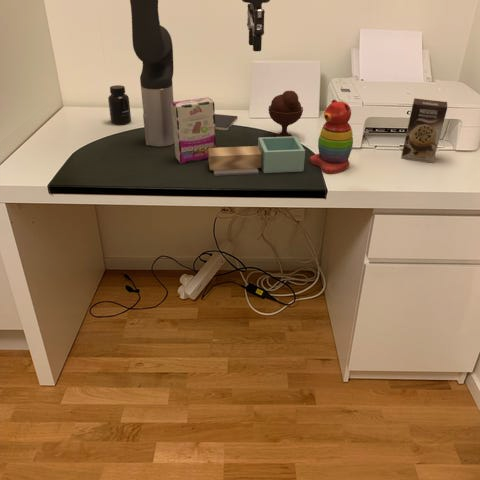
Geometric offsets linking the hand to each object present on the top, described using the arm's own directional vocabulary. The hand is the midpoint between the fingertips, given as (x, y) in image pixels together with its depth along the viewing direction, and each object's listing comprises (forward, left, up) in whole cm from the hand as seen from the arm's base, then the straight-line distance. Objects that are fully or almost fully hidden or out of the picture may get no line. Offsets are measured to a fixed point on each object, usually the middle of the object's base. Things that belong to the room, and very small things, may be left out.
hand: (254, 48), depth 130 cm
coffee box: (+47, -15, -28) cm, 57 cm away
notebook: (-14, +23, -29) cm, 39 cm away
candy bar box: (-18, -9, -28) cm, 35 cm away
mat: (-8, -16, -28) cm, 33 cm away
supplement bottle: (-42, +25, -28) cm, 57 cm away
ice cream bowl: (+11, +5, -28) cm, 31 cm away
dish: (+5, -16, -28) cm, 33 cm away
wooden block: (-8, -16, -28) cm, 33 cm away
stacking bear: (+20, -18, -28) cm, 39 cm away
